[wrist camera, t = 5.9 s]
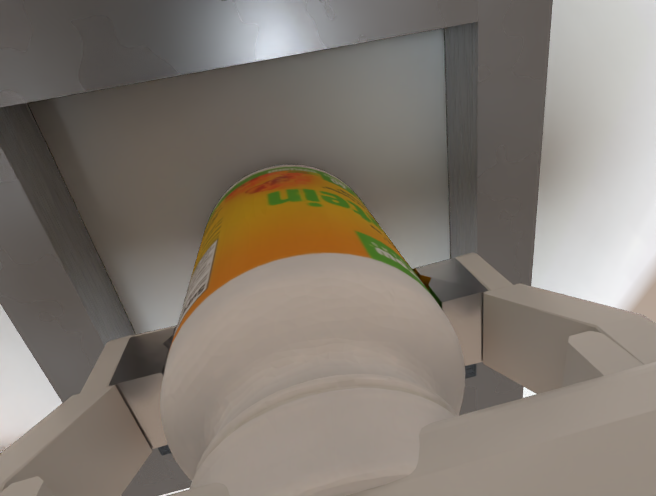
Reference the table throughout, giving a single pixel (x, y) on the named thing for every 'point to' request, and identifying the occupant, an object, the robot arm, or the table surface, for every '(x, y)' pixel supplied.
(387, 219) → the table surface
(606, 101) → the table surface
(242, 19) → the dark grey square frame
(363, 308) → the supplement bottle
